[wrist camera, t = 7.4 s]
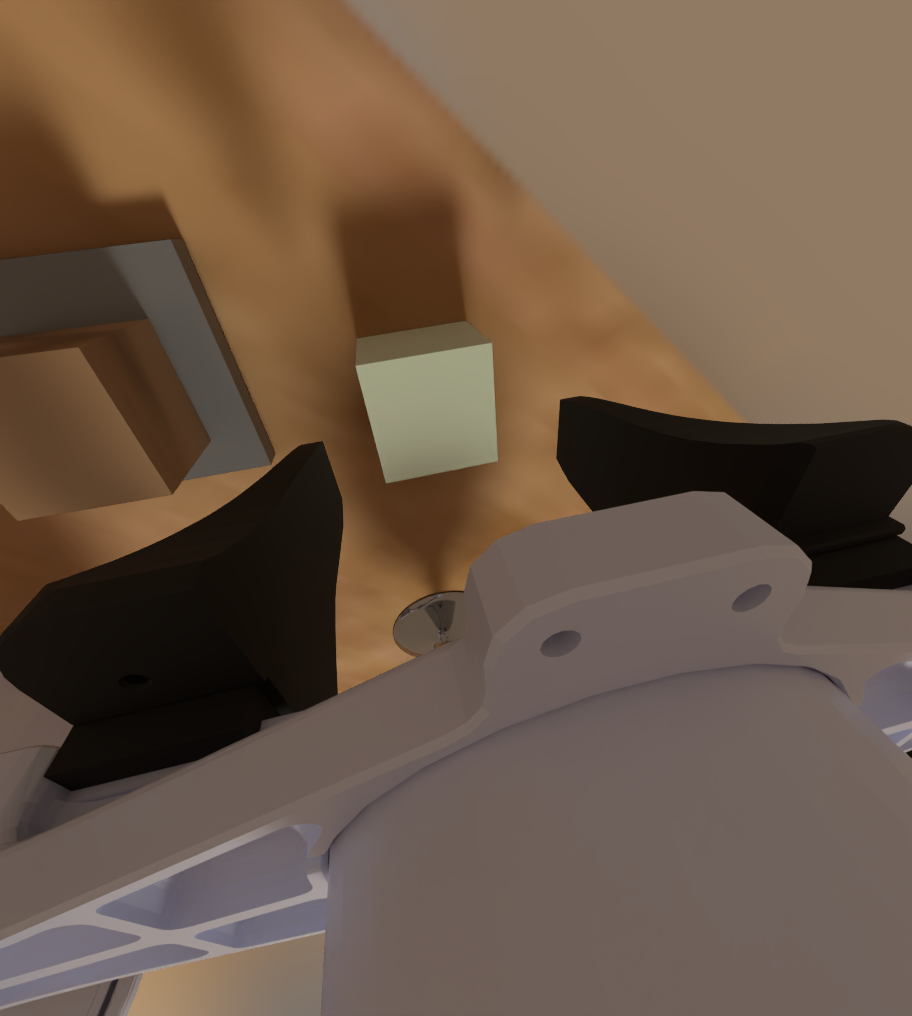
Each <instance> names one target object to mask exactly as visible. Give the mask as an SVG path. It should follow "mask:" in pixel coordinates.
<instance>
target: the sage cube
mask: <svg viewBox="0 0 912 1016" xmlns="http://www.w3.org/2000/svg"><path fill="white" fill-rule="evenodd" d="M355 367H356V370H357V374H358V378H359V382H360V386H361V390H362V393H363V397H364V401H365V405H366V409H367V412H368V416H369V420H370V424H371V428H372V432H373V435H374V439H375V443H376V447H377V451H378V455H379V458H380V462H381V466H382V470H383V474H384V478H385V481H386V483H391V482H396V481H401V480H406V479H411V478H416V477H421V476H426V475H431V474H436V473H441V472H446V471H452V470H457V469H462V468H467V467H472V466H477V465H482V464H487V463H492V462H497V461H498V454H497V434H496V414H495V393H494V373H493V353H492V342H490V341H489V340H488V339H487V338H486V337H485V336H483V335H482V334H481V333H480V332H479V331H478V330H476V329H475V328H474V327H473V326H472V325H471V324H470V323H468V322H467V321H461V322H455V323H449V324H443V325H437V326H431V327H424V328H418V329H412V330H406V331H400V332H394V333H387V334H381V335H375V336H369V337H363V338H357V339H356V362H355Z"/></svg>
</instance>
